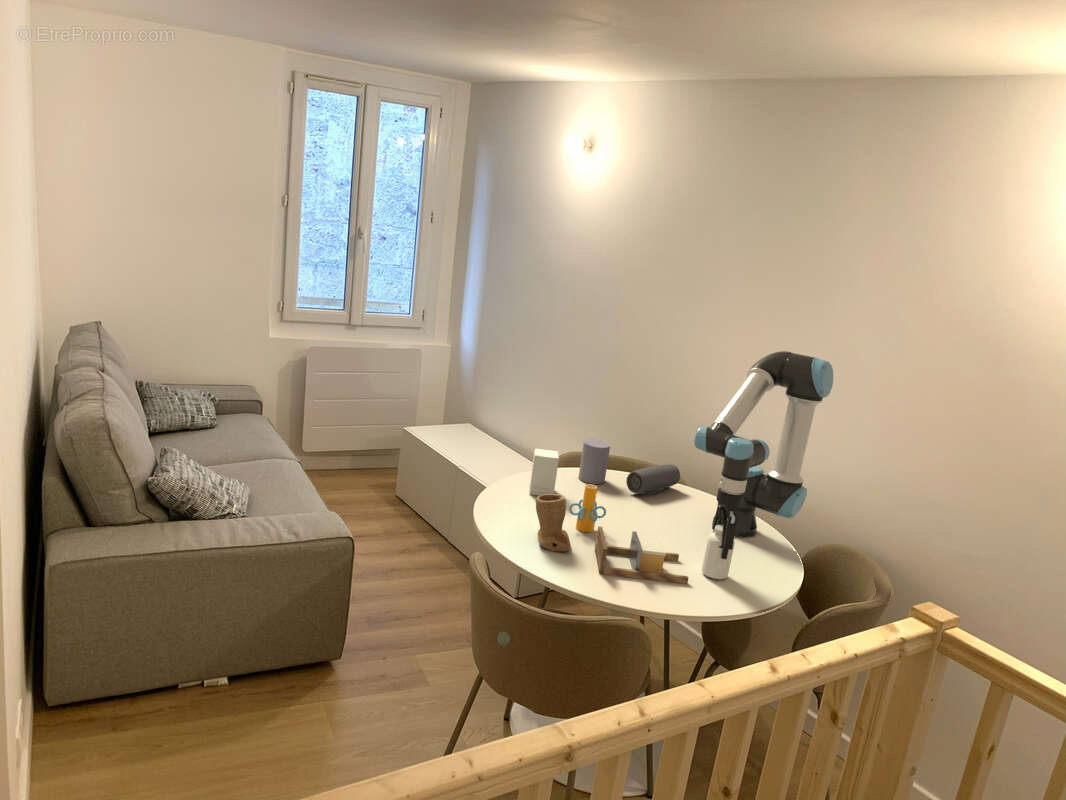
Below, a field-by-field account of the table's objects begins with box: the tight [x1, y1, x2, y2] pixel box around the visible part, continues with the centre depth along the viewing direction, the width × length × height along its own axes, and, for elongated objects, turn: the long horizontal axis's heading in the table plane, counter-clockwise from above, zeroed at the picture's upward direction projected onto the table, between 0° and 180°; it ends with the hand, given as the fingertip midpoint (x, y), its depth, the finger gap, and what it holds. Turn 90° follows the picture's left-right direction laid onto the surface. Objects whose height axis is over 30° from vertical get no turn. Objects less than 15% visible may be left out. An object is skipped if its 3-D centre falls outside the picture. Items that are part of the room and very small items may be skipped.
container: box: [578, 438, 611, 485], centre depth 310 cm, size 10×10×15 cm
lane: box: [594, 526, 689, 585], centre depth 239 cm, size 26×16×8 cm, turn 90°
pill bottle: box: [701, 525, 736, 580], centre depth 239 cm, size 8×8×15 cm
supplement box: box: [528, 448, 560, 496], centre depth 290 cm, size 9×9×15 cm
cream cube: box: [639, 539, 666, 573], centre depth 240 cm, size 7×7×7 cm
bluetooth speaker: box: [625, 463, 681, 495], centre depth 307 cm, size 23×9×10 cm, turn 133°
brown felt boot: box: [535, 493, 572, 552], centre depth 247 cm, size 15×12×15 cm
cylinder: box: [568, 483, 607, 533], centre depth 261 cm, size 12×10×15 cm
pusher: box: [628, 531, 642, 570], centre depth 239 cm, size 1×13×8 cm, turn 1°
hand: (717, 561), depth 240 cm, fingers closed on pill bottle, 8 cm apart
